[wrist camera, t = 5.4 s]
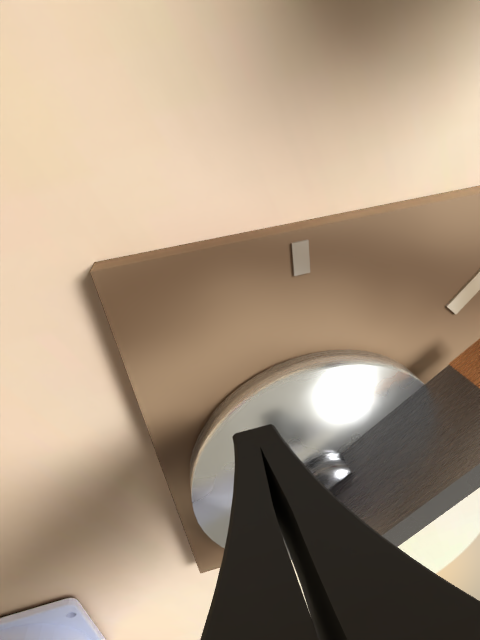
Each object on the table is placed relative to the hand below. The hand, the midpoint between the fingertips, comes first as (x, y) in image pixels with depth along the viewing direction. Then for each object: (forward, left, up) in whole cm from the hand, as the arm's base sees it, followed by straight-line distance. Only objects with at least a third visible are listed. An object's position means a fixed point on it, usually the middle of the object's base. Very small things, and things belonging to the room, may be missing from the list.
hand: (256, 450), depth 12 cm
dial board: (-3, -4, -4) cm, 7 cm away
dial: (-4, -4, -3) cm, 7 cm away
